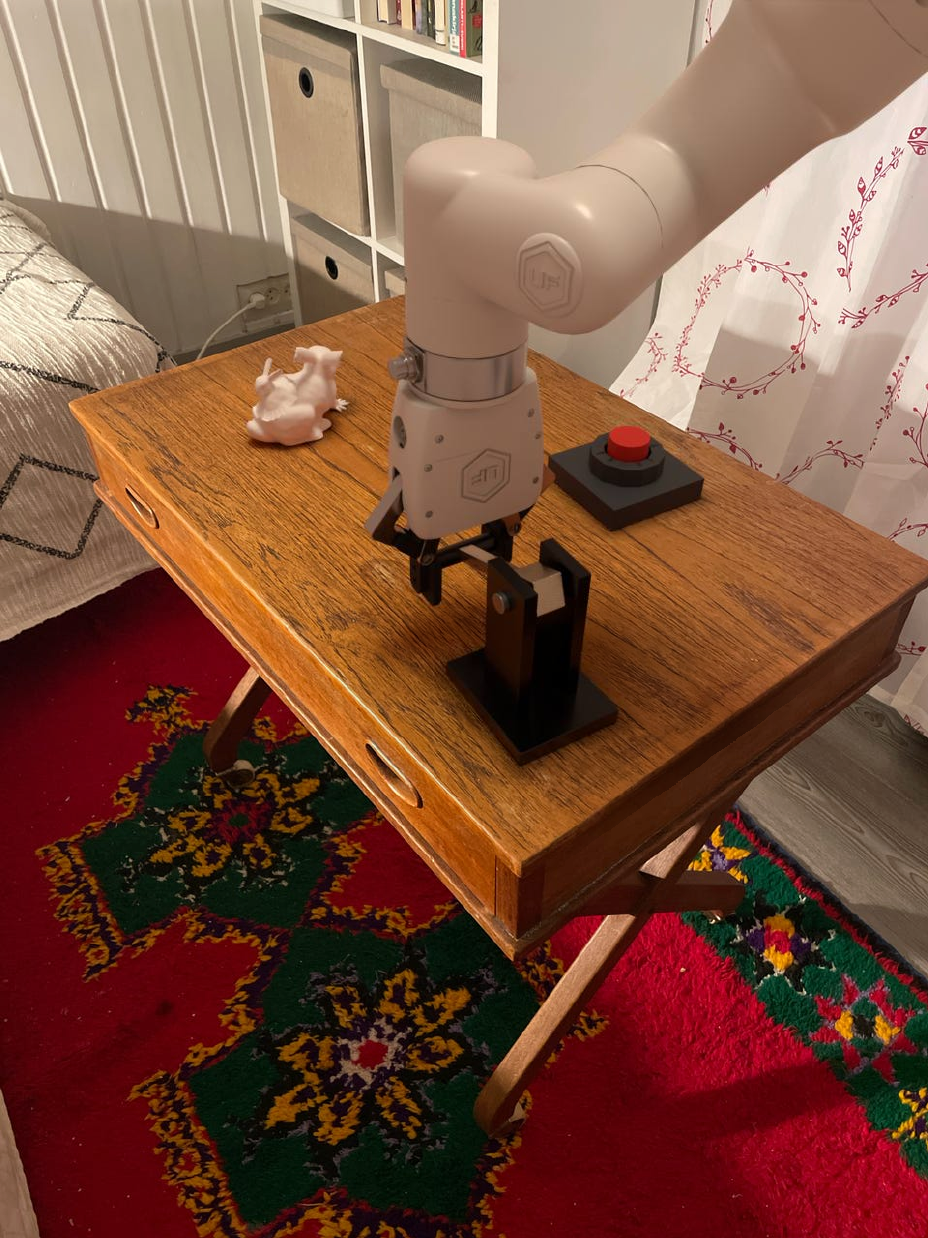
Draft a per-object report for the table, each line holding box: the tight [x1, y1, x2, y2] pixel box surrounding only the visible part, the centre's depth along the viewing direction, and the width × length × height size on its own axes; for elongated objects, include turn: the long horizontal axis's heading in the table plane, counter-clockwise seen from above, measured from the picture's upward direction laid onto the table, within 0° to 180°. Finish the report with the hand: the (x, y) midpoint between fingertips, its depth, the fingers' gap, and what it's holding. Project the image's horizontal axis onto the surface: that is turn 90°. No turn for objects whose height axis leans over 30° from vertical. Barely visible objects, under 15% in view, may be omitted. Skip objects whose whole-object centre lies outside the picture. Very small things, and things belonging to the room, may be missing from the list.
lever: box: [435, 532, 565, 617], centre depth 66 cm, size 12×5×2 cm, turn 30°
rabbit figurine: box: [246, 345, 350, 446], centre depth 92 cm, size 12×8×10 cm, turn 125°
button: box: [607, 425, 651, 462], centre depth 86 cm, size 4×4×2 cm
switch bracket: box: [445, 537, 619, 766], centre depth 65 cm, size 10×8×12 cm
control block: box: [547, 431, 705, 532], centre depth 87 cm, size 10×10×4 cm
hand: (461, 580), depth 72 cm, fingers closed on lever, 5 cm apart
